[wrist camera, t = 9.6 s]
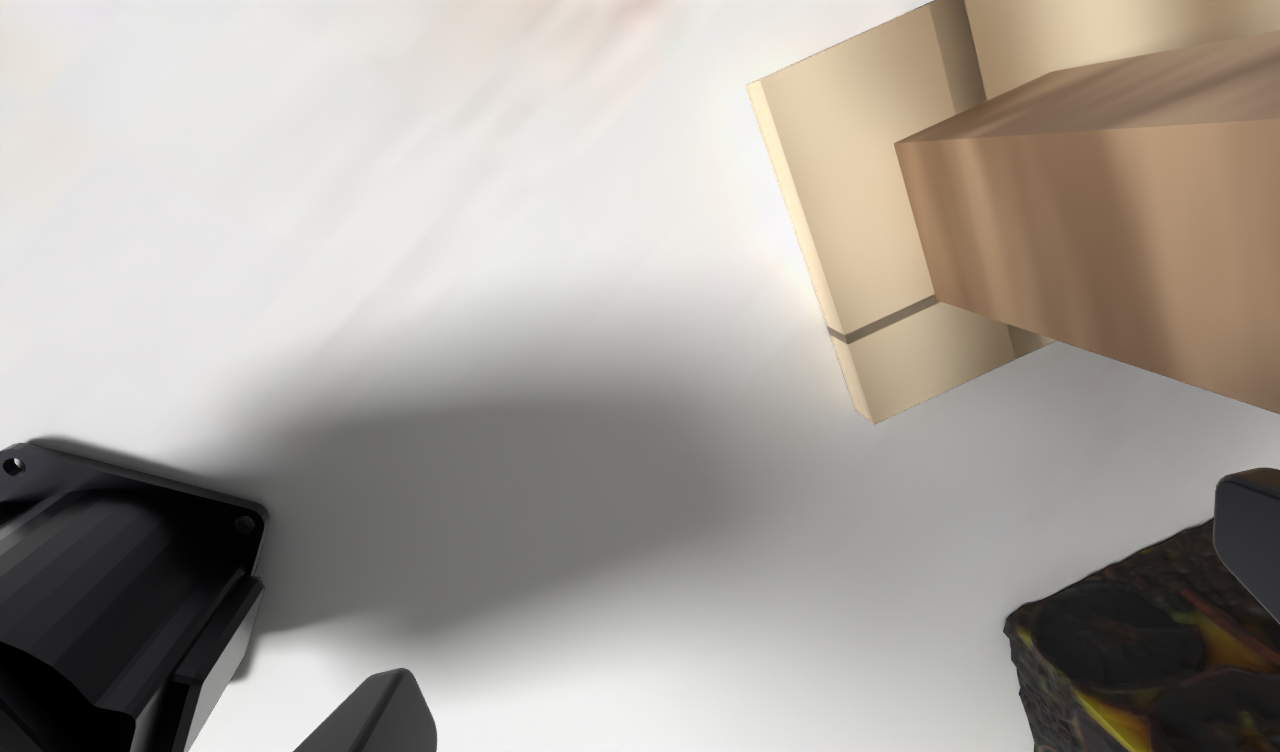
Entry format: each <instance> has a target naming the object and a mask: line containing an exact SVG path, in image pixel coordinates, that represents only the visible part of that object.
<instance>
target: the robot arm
mask: <svg viewBox="0 0 1280 752" xmlns="http://www.w3.org/2000/svg"><path fill="white" fill-rule="evenodd" d="M14 458H17V459H19V460H21V461H22V462H23V463H24V464H25V466H26V470H23V469H21V468H19V467H18V466H17V465H16V464H15V462H14ZM241 516H247V517H249V518H251V519H252V520H253V521H254V522H255V525H254V526H249V525H246V524H244V523H243V522H242V520H241ZM269 520H270V516H269V513H268V511H267V509H266V508H265V507H263V506H262V505H261V504H259V503H256V502H253V501H250V500H246V499H242V498H238V497H234V496H230V495H226V494H222V493H218V492H214V491H211V490H207V489H203V488H199V487H195V486H191V485H187V484H183V483H179V482H176V481H172V480H168V479H164V478H160V477H156V476H152V475H148V474H144V473H141V472H137V471H133V470H129V469H125V468H121V467H117V466H113V465H109V464H106V463H102V462H98V461H94V460H90V459H86V458H82V457H78V456H74V455H70V454H67V453H63V452H59V451H55V450H51V449H47V448H43V447H39V446H35V445H32V444H26V443H18V444H13V445H11V446H9V447H7V448H5V449H3V450H2V451H0V752H188V751H189V749H190V748H191V746H192V744H193V743H194V741H195V739H196V738H197V736H198V734H199V732H200V731H201V729H202V727H203V726H204V724H205V722H206V721H207V719H208V717H209V715H210V714H211V712H212V710H213V709H214V707H215V705H216V704H217V702H218V700H219V698H220V697H221V695H222V693H223V692H224V690H225V688H226V687H227V685H228V683H229V681H230V680H231V678H232V676H233V675H234V673H235V671H236V669H237V668H238V666H239V664H240V663H241V661H242V659H243V658H244V655H245V653H246V649H247V646H248V643H249V639H250V636H251V632H252V629H253V626H254V622H255V619H256V616H257V612H258V609H259V605H260V602H261V599H262V595H263V592H264V589H265V586H264V584H263V582H262V581H261V579H260V577H255V576H254V574H255V570H256V567H257V563H258V560H259V556H260V553H261V549H262V546H263V543H264V539H265V536H266V532H267V529H268V525H269ZM1213 544H1214V548H1215V550H1216V553H1217V555H1218V557H1219V558H1220V560H1221V561H1222V563H1223V564H1224V565H1225V566H1226V568H1227V569H1228V570H1229V571H1230V572H1231V573H1232V574H1233V575H1234V576H1235V577H1236V578H1237V579H1238V580H1239V581H1240V582H1241V584H1242V585H1243V586H1244V587H1245V588H1246V589H1247V590H1248V591H1249V592H1250V593H1251V594H1252V595H1253V596H1254V597H1255V598H1256V600H1257V601H1258V602H1259V603H1260V604H1261V605H1262V606H1263V607H1264V608H1265V609H1266V610H1267V611H1268V612H1269V613H1270V615H1271V616H1272V617H1273V618H1274V619H1275V620H1276V621H1277V622H1278V623H1279V624H1280V470H1278V469H1273V468H1255V469H1251V470H1247V471H1242V472H1238V473H1234V474H1230V475H1227V476H1225V477H1223V478H1221V479H1220V481H1219V482H1218V484H1217V486H1216V490H1215V507H1214V526H1213ZM436 751H437V731H436V726H435V722H434V719H433V717H432V714H431V712H430V710H429V708H428V706H427V703H426V701H425V699H424V697H423V695H422V692H421V690H420V688H419V686H418V684H417V681H416V679H415V677H414V676H413V674H412V673H411V672H410V671H409V670H408V669H405V668H398V669H394V670H390V671H386V672H381V673H377V674H374V675H371V676H370V677H368V678H367V679H366V680H365V681H364V682H363V683H362V684H361V685H360V686H359V687H358V688H357V689H356V690H355V691H354V692H353V693H352V694H351V695H350V696H349V697H348V698H347V699H346V700H345V701H344V702H343V703H342V704H341V705H340V706H339V707H338V708H337V709H336V710H335V711H334V712H333V713H332V714H331V715H330V716H329V717H327V718H326V719H325V720H324V721H323V722H322V723H321V724H320V725H319V726H318V727H317V728H316V729H315V730H314V731H313V732H312V733H311V734H310V735H309V736H308V737H307V738H306V739H305V740H304V741H303V742H302V743H301V744H300V745H299V746H298V747H297V748H296V749H295V750H294V751H293V752H436Z"/></svg>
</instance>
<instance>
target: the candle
mask: <svg viewBox="0 0 1280 752" xmlns="http://www.w3.org/2000/svg"><path fill="white" fill-rule="evenodd" d="M1213 526H1214V520H1212V521H1211V522H1209V523H1207V524H1206V525H1204V526H1202V527H1200V528H1195V529H1191V530H1187V531H1184V532H1182V533H1180V534H1178V535H1177V536H1175V537H1173V538H1171V539H1170V540H1168V541H1166V542H1164V543H1161V544H1159V545H1157V546H1154V547H1151V548H1149V549H1146V550H1143V551H1141V552H1139V553H1138V554H1136V555H1134V556H1133V557H1131V558H1130V559H1128V560H1126V561H1124V562H1123V563H1121V564H1119V565H1111V566H1109V567H1108V568H1106V569H1105V570H1103V571H1102V572H1100V573H1098V574H1096V575H1093V576H1090V577H1088V578H1086V579H1085V580H1084V581H1082V582H1080V583H1078V584H1076V585H1074V586H1072V587H1070V588H1068V589H1066V590H1064V591H1062V592H1060V593H1057V594H1055V595H1053V596H1050V597H1048V598H1046V599H1044V600H1041V601H1039V602H1036V603H1033V604H1029V605H1026V606H1023V607H1022V608H1020V609H1019V610H1018V611H1017V612H1015V613H1014V614H1013V615H1011V616H1010V617H1009V618H1007V619H1006V622H1005V626H1004V630H1003V632H1004V633H1005V634H1006V636H1007V637H1008V638H1009V639H1010V646H1011V660H1012V662H1013V663H1014V664H1015V666H1016V667H1017V675H1018V679H1019V683H1020V687H1021V688H1020V691H1019V695H1020V697H1021V700H1022V703H1023V706H1024V709H1025V712H1026V715H1027V717H1028V721H1029V725H1030V728H1031V732H1032V735H1033V738H1034V742H1035V745H1034V752H1280V624H1279V623H1278V622H1277V621H1276V620H1275V619H1274V618H1273V617H1272V616H1271V615H1270V613H1269V612H1268V611H1267V610H1266V609H1265V608H1264V607H1263V606H1262V605H1261V604H1260V603H1259V602H1258V601H1257V600H1256V598H1255V597H1254V596H1253V595H1252V594H1251V593H1250V592H1249V591H1248V590H1247V589H1246V588H1245V587H1244V586H1243V585H1242V584H1241V582H1240V581H1239V580H1238V579H1237V578H1236V577H1235V576H1234V575H1233V574H1232V573H1231V572H1230V571H1229V570H1228V569H1227V568H1226V566H1225V565H1224V564H1223V563H1222V561H1221V560H1220V558H1219V557H1218V555H1217V553H1216V550H1215V548H1214V544H1213Z"/></svg>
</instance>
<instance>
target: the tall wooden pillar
mask: <svg viewBox="0 0 1280 752" xmlns="http://www.w3.org/2000/svg"><path fill="white" fill-rule="evenodd" d="M894 147H895V151H896V154H897V158H898V162H899V165H900V169H901V172H902V176H903V180H904V183H905V187H906V191H907V194H908V198H909V201H910V205H911V209H912V212H913V216H914V220H915V223H916V227H917V231H918V234H919V238H920V241H921V245H922V249H923V252H924V256H925V260H926V263H927V267H928V270H929V274H930V278H931V281H932V285H933V289H934V292H935V296H936V299H937V301H940V302H943V303H946V304H949V305H952V306H955V307H958V308H961V309H964V310H967V311H970V312H973V313H976V314H979V315H982V316H985V317H988V318H991V319H994V320H997V321H1000V322H1003V323H1006V324H1009V325H1012V326H1015V327H1018V328H1021V329H1025V330H1028V331H1031V332H1034V333H1037V334H1040V335H1043V336H1046V337H1049V338H1052V339H1055V340H1058V341H1061V342H1064V343H1067V344H1070V345H1073V346H1076V347H1079V348H1082V349H1085V350H1088V351H1091V352H1094V353H1097V354H1100V355H1103V356H1106V357H1109V358H1112V359H1115V360H1118V361H1121V362H1124V363H1127V364H1130V365H1133V366H1136V367H1139V368H1142V369H1145V370H1148V371H1151V372H1154V373H1157V374H1160V375H1163V376H1166V377H1169V378H1172V379H1175V380H1178V381H1181V382H1184V383H1187V384H1190V385H1193V386H1196V387H1199V388H1202V389H1205V390H1209V391H1212V392H1215V393H1218V394H1221V395H1224V396H1227V397H1230V398H1233V399H1236V400H1239V401H1242V402H1245V403H1248V404H1251V405H1254V406H1257V407H1260V408H1263V409H1266V410H1269V411H1272V412H1275V413H1278V414H1280V30H1278V31H1272V32H1267V33H1261V34H1256V35H1250V36H1245V37H1239V38H1234V39H1228V40H1223V41H1217V42H1212V43H1206V44H1201V45H1195V46H1190V47H1184V48H1179V49H1173V50H1168V51H1162V52H1157V53H1151V54H1146V55H1140V56H1135V57H1129V58H1124V59H1118V60H1113V61H1107V62H1102V63H1097V64H1091V65H1086V66H1080V67H1075V68H1069V69H1064V70H1058V71H1053V72H1049V73H1047V74H1045V75H1043V76H1041V77H1038V78H1036V79H1034V80H1032V81H1030V82H1027V83H1025V84H1023V85H1021V86H1019V87H1016V88H1014V89H1012V90H1010V91H1008V92H1005V93H1003V94H1001V95H999V96H997V97H994V98H992V99H990V100H988V101H986V102H983V103H981V104H979V105H977V106H975V107H972V108H970V109H968V110H966V111H964V112H961V113H959V114H957V115H955V116H952V117H950V118H948V119H946V120H944V121H941V122H939V123H937V124H935V125H933V126H930V127H928V128H926V129H924V130H922V131H919V132H917V133H915V134H913V135H911V136H908V137H906V138H904V139H902V140H900V141H897V142H895V143H894Z"/></svg>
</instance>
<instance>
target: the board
mask: <svg viewBox="0 0 1280 752" xmlns="http://www.w3.org/2000/svg"><path fill="white" fill-rule="evenodd" d="M1278 30H1280V0H934V1H932V2H930V3H927V4H925V5H923V6H921V7H919V8H916V9H914V10H912V11H910V12H907V13H905V14H903V15H901V16H899V17H896V18H894V19H892V20H890V21H888V22H885V23H883V24H881V25H879V26H876V27H874V28H872V29H870V30H868V31H865V32H863V33H861V34H859V35H857V36H854V37H852V38H850V39H848V40H845V41H843V42H841V43H839V44H837V45H834V46H832V47H830V48H828V49H826V50H823V51H821V52H819V53H817V54H814V55H812V56H810V57H808V58H806V59H803V60H801V61H799V62H797V63H795V64H792V65H790V66H788V67H786V68H784V69H781V70H779V71H777V72H775V73H772V74H770V75H768V76H766V77H764V78H761V79H759V80H757V81H755V82H753V83H750V84H748V85H746V88H747V91H748V94H749V97H750V100H751V103H752V106H753V109H754V112H755V115H756V118H757V121H758V124H759V127H760V130H761V133H762V135H763V138H764V141H765V144H766V147H767V150H768V153H769V156H770V159H771V162H772V165H773V168H774V171H775V174H776V177H777V180H778V183H779V186H780V189H781V192H782V194H783V197H784V200H785V203H786V206H787V209H788V212H789V215H790V218H791V221H792V224H793V227H794V230H795V233H796V236H797V239H798V242H799V245H800V248H801V251H802V253H803V256H804V259H805V262H806V265H807V268H808V271H809V274H810V277H811V280H812V283H813V286H814V289H815V292H816V295H817V298H818V301H819V304H820V307H821V310H822V312H823V315H824V318H825V321H826V324H827V327H828V330H829V333H830V336H831V339H832V342H833V345H834V348H835V351H836V354H837V357H838V360H839V363H840V366H841V369H842V371H843V374H844V377H845V380H846V383H847V386H848V389H849V392H850V395H851V398H852V401H853V404H854V407H855V410H856V411H857V412H858V413H860V414H861V415H862V416H864V417H865V418H866V419H867V420H869V421H870V422H871V423H873V424H877V423H879V422H881V421H883V420H885V419H887V418H889V417H892V416H894V415H896V414H898V413H900V412H902V411H905V410H907V409H909V408H911V407H913V406H915V405H918V404H920V403H922V402H924V401H926V400H928V399H931V398H933V397H935V396H937V395H939V394H941V393H944V392H946V391H948V390H950V389H952V388H954V387H957V386H959V385H961V384H963V383H965V382H967V381H970V380H972V379H974V378H976V377H978V376H980V375H983V374H985V373H987V372H989V371H991V370H993V369H996V368H998V367H1000V366H1002V365H1004V364H1006V363H1009V362H1011V361H1013V360H1015V359H1017V358H1019V357H1022V356H1024V355H1026V354H1028V353H1030V352H1032V351H1035V350H1037V349H1039V348H1041V347H1043V346H1045V345H1048V344H1050V343H1052V342H1054V341H1056V340H1055V339H1052V338H1049V337H1046V336H1043V335H1040V334H1037V333H1034V332H1031V331H1028V330H1025V329H1021V328H1018V327H1015V326H1012V325H1009V324H1006V323H1003V322H1000V321H997V320H994V319H991V318H988V317H985V316H982V315H979V314H976V313H973V312H970V311H967V310H964V309H961V308H958V307H955V306H952V305H949V304H946V303H943V302H940V301H937V299H936V296H935V292H934V289H933V285H932V281H931V278H930V274H929V270H928V267H927V263H926V260H925V256H924V252H923V249H922V245H921V241H920V238H919V234H918V231H917V227H916V223H915V220H914V216H913V212H912V209H911V205H910V201H909V198H908V194H907V191H906V187H905V183H904V180H903V176H902V172H901V169H900V165H899V162H898V158H897V154H896V151H895V147H894V143H895V142H897V141H900V140H902V139H904V138H906V137H908V136H911V135H913V134H915V133H917V132H919V131H922V130H924V129H926V128H928V127H930V126H933V125H935V124H937V123H939V122H941V121H944V120H946V119H948V118H950V117H952V116H955V115H957V114H959V113H961V112H964V111H966V110H968V109H970V108H972V107H975V106H977V105H979V104H981V103H983V102H986V101H988V100H990V99H992V98H994V97H997V96H999V95H1001V94H1003V93H1005V92H1008V91H1010V90H1012V89H1014V88H1016V87H1019V86H1021V85H1023V84H1025V83H1027V82H1030V81H1032V80H1034V79H1036V78H1038V77H1041V76H1043V75H1045V74H1047V73H1049V72H1053V71H1058V70H1064V69H1069V68H1075V67H1080V66H1086V65H1091V64H1097V63H1102V62H1107V61H1113V60H1118V59H1124V58H1129V57H1135V56H1140V55H1146V54H1151V53H1157V52H1162V51H1168V50H1173V49H1179V48H1184V47H1190V46H1195V45H1201V44H1206V43H1212V42H1217V41H1223V40H1228V39H1234V38H1239V37H1245V36H1250V35H1256V34H1261V33H1267V32H1272V31H1278Z"/></svg>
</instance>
